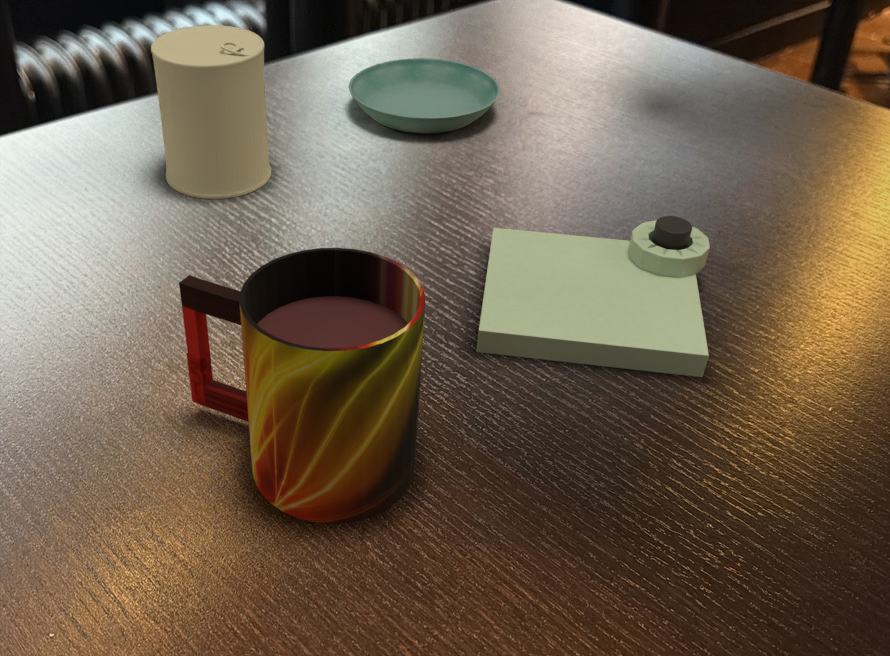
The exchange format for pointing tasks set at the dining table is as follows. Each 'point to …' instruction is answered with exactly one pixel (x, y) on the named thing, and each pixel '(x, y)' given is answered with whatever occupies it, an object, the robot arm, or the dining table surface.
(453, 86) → the saucer
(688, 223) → the button
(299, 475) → the mug
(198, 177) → the can
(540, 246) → the scale
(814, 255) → the dining table surface
